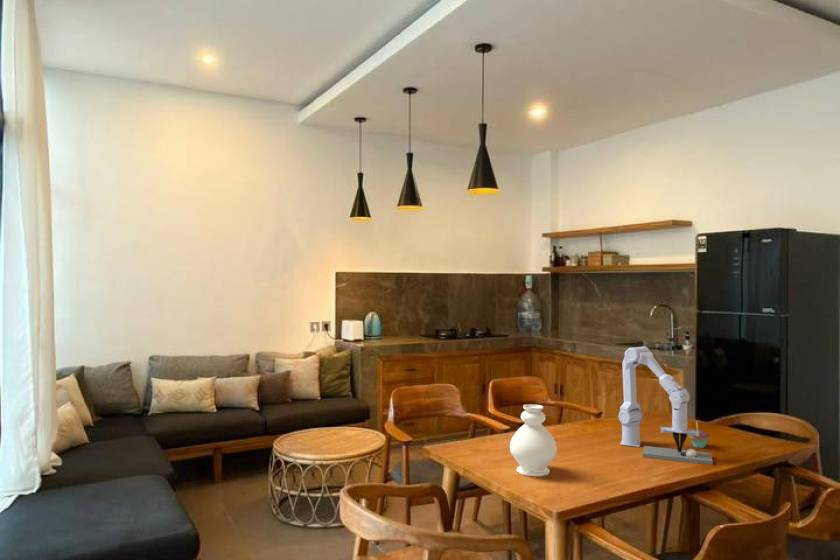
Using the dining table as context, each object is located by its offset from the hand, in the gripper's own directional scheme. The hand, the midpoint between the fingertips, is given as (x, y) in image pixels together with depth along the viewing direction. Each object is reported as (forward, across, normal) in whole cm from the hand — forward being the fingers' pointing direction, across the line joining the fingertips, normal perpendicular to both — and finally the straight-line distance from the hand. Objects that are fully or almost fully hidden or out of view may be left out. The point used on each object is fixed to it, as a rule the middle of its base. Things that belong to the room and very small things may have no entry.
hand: (679, 451), depth 244 cm
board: (+2, -1, 0) cm, 3 cm away
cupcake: (+3, +8, +20) cm, 22 cm away
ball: (0, +4, 0) cm, 4 cm away
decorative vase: (+3, -52, -42) cm, 67 cm away
